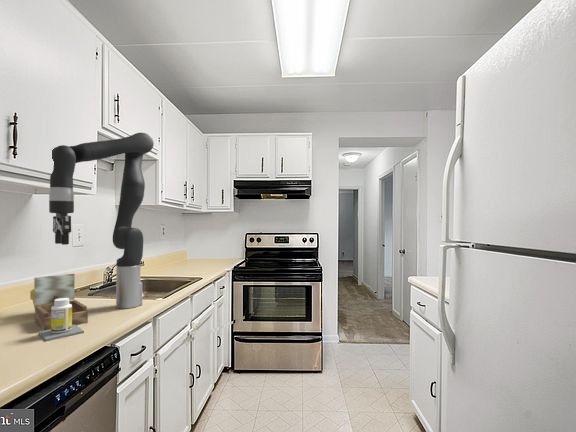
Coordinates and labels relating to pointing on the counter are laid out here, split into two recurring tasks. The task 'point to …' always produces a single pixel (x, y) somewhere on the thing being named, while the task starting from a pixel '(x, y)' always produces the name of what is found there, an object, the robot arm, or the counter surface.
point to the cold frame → (55, 289)
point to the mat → (49, 335)
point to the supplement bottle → (61, 316)
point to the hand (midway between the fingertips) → (61, 244)
